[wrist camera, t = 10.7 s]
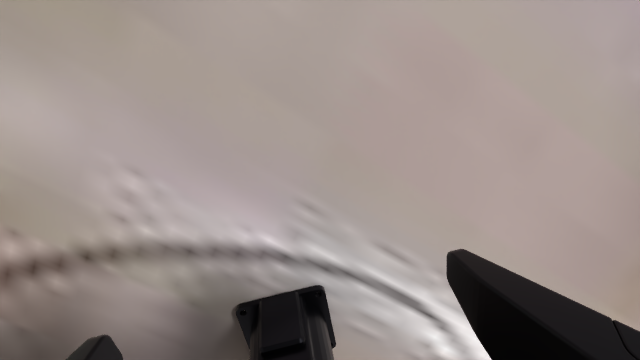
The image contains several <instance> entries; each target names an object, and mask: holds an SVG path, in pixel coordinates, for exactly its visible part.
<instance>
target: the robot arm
mask: <svg viewBox="0 0 640 360" xmlns="http://www.w3.org/2000/svg"><path fill="white" fill-rule="evenodd" d="M447 279H448V282H449V285H450V286H451V288H452V290H453V292H454V294H455V296H456V298H457V300H458V302H459V304H460V306H461V308H462V310H463V311H464V313H465V315H466V317H467V319H468V321H469V323H470V325H471V327H472V329H473V331H474V332H475V334H476V336H477V337H478V339H479V341H480V342H481V344H482V345H483V347H484V348H485V350H486V351H487V353H488V354H489V356H490V358H491V359H492V360H640V331H638V330H635V329H633V328H631V327H629V326H627V325H625V324H623V323H620V322H618V321H616V320H613V321H612V319H611V318H610V317H607V316H605V315H603V314H601V313H599V312H597V311H595V310H592V309H590V308H588V307H586V306H584V305H582V304H580V303H578V302H575V301H573V300H571V299H569V298H567V297H565V296H563V295H561V294H558V293H556V292H554V291H552V290H550V289H548V288H546V287H543V286H541V285H539V284H537V283H535V282H533V281H531V280H529V279H526V278H524V277H522V276H520V275H518V274H516V273H514V272H512V271H509V270H507V269H505V268H503V267H501V266H499V265H497V264H495V263H492V262H490V261H488V260H486V259H484V258H482V257H480V256H477V255H475V254H473V253H471V252H469V251H467V250H464V249H458V250H454V251H450V252H448V254H447ZM317 292H320V293H317ZM242 310H245V311H242ZM236 315H237V318H238V320H239V323H240V326H241V328H242V331H243V333H244V336H245V339H246V341H247V344H248V346H249V349H250V359H249V360H334V357H333V352H332V349H333V348H334V347H335V346H336V342H335V337H334V332H333V327H332V323H331V318H330V313H329V308H328V303H327V299H326V294H325V290H324V287H322V286H320V285H318V286H313V287H309V288H305V289H301V290H296V291H292V292H288V293H284V294H280V295H276V296H272V297H267V298H263V299H259V300H255V301H251V302H247V303H243V304H240V305H238V306H237V308H236ZM66 360H123V357H122V354H121V353H120V351H119V349H118V348H117V346H116V345H115V343H114V342H113V340H112V339H111V337H110V336H108V335H101V336H97V337H92V338H90V339H88V340H87V341H85V342H84V343H83V344H82V345H81V346H80V347H79V348H78V349H77V350H76V351H75V352H74V353H72V354H71V355H70V356H69V357H68V358H67V359H66Z"/></svg>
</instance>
